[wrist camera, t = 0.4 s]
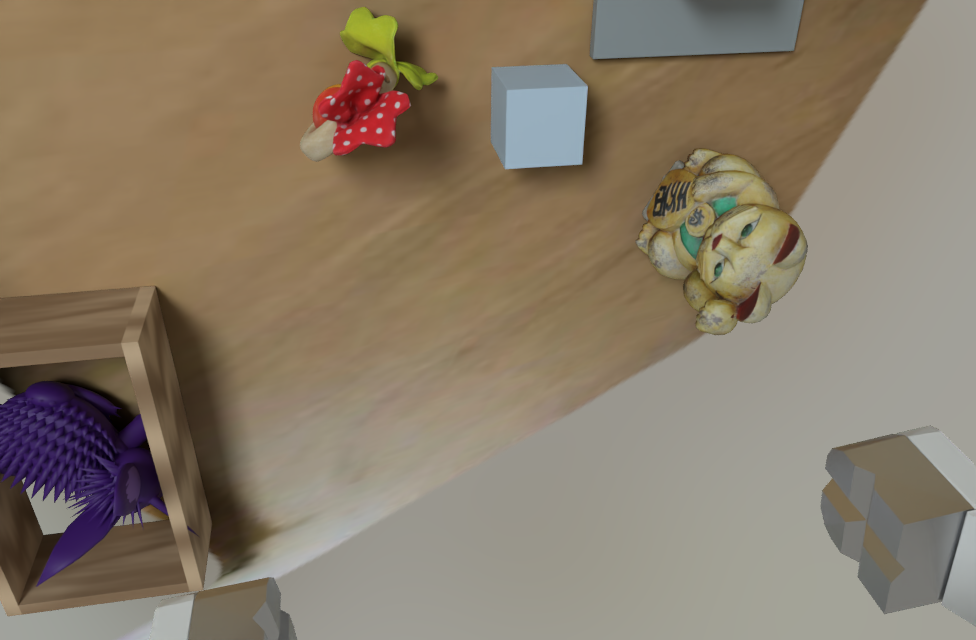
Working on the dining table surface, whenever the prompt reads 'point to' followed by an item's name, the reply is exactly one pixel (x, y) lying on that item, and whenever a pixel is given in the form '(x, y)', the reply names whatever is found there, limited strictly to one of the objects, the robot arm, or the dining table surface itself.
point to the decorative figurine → (722, 239)
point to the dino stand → (144, 343)
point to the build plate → (692, 27)
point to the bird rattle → (363, 92)
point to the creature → (78, 462)
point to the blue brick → (538, 115)
